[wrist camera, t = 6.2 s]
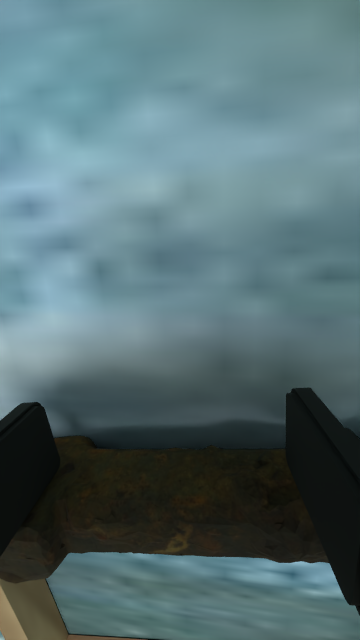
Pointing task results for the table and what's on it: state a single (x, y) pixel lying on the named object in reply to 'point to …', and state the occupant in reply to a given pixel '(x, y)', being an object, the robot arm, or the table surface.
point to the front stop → (96, 638)
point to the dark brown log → (163, 508)
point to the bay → (29, 612)
